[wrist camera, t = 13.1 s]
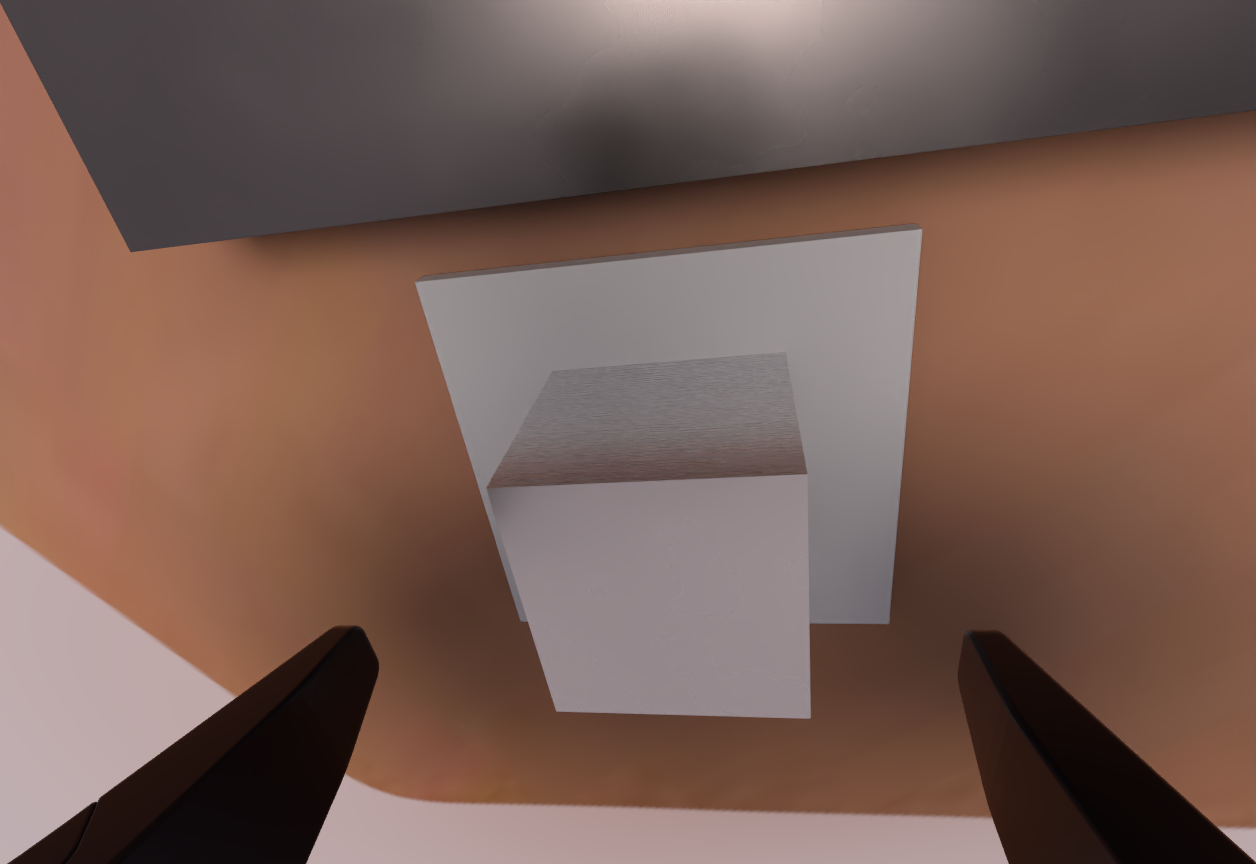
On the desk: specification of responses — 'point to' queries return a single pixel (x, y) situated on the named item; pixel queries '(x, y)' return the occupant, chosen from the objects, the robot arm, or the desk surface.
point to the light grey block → (664, 538)
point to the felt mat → (709, 328)
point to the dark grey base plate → (579, 94)
